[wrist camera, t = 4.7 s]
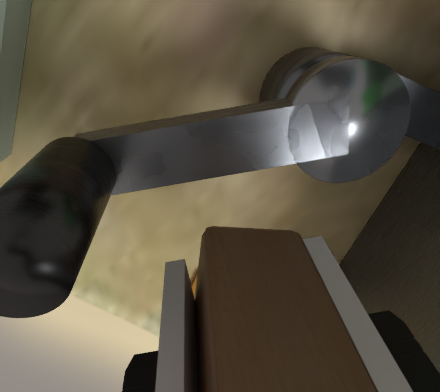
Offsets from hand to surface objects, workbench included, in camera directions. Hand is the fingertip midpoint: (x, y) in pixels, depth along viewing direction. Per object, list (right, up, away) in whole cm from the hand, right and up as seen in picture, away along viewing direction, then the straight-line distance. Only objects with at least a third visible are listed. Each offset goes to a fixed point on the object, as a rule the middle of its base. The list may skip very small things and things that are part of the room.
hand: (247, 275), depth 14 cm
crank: (-1, +6, +1) cm, 6 cm away
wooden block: (0, 0, +1) cm, 1 cm away
